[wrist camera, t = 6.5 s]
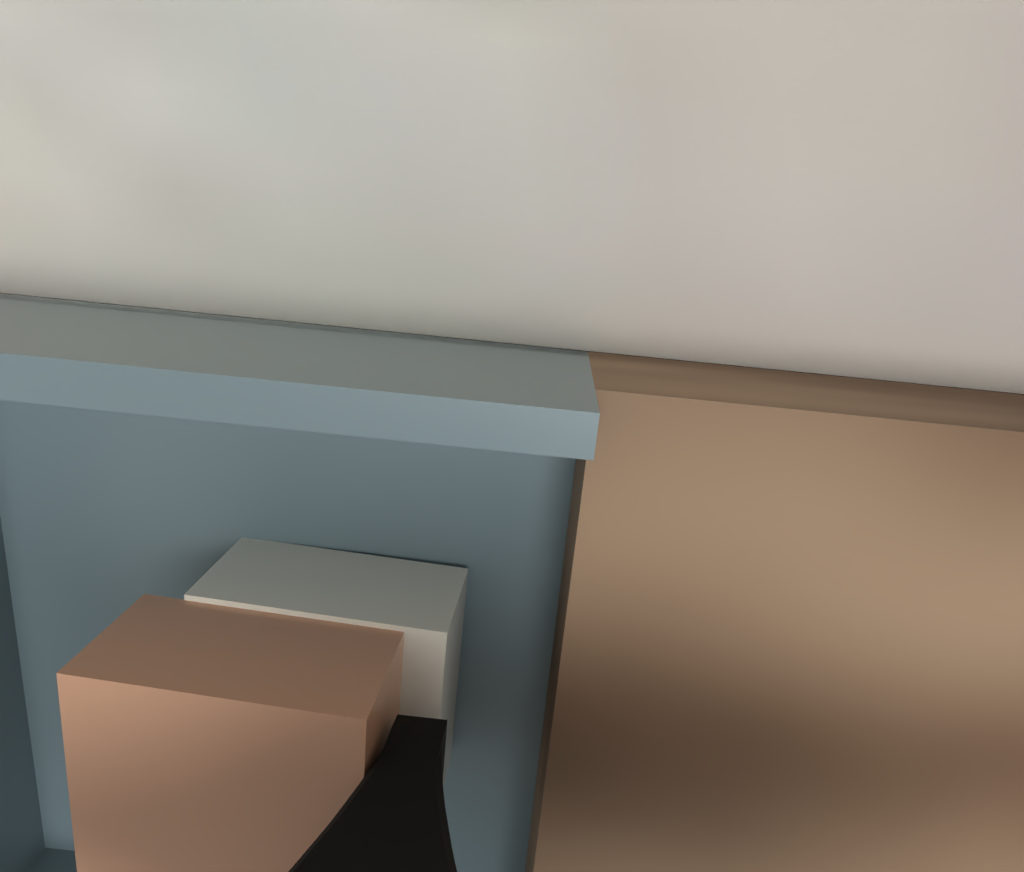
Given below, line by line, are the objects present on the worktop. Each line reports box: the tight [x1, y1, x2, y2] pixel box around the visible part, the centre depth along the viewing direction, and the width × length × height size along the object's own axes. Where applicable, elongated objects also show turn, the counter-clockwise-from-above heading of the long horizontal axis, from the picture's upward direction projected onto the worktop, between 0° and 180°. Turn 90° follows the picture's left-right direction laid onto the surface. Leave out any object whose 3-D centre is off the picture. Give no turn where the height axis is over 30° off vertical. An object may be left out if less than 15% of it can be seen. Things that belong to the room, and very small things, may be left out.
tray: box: [0, 293, 600, 872], centre depth 13 cm, size 12×10×4 cm
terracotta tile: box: [56, 594, 404, 872], centre depth 11 cm, size 4×4×2 cm
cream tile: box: [184, 537, 468, 787], centre depth 13 cm, size 4×4×2 cm
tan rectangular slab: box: [525, 351, 1024, 872], centre depth 13 cm, size 12×10×2 cm
